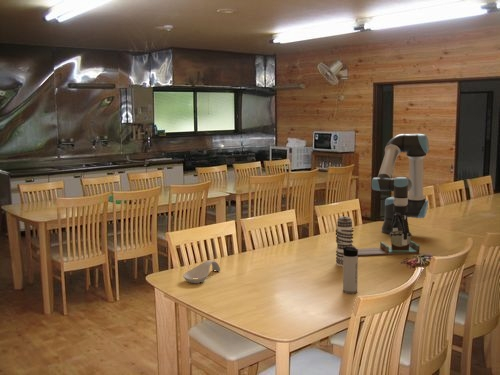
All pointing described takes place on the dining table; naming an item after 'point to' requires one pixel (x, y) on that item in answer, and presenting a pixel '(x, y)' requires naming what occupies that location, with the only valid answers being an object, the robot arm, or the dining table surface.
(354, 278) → the travel mug
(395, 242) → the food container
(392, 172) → the robot arm
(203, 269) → the spoon rest
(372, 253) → the rack
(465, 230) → the dining table surface
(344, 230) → the decorative candle
